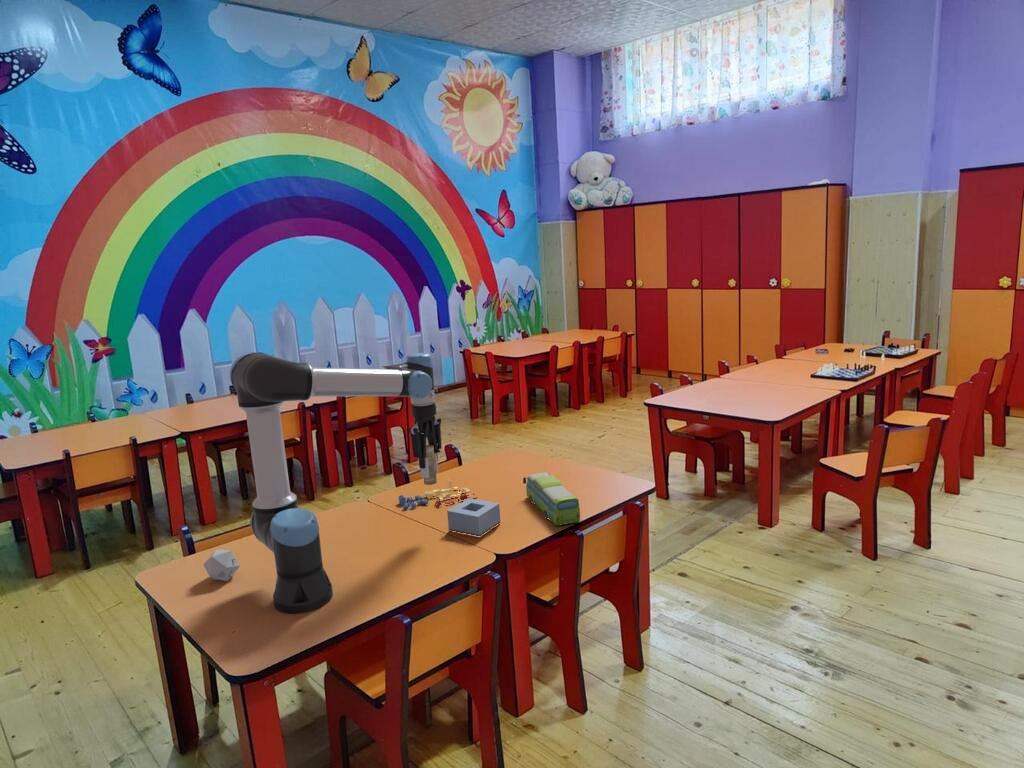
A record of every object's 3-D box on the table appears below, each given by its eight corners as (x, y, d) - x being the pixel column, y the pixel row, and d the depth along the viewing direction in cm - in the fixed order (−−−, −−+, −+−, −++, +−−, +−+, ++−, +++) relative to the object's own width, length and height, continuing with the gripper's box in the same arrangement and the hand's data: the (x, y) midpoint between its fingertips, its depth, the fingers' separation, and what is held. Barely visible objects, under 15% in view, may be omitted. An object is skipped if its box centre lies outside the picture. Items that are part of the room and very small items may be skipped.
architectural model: (503, 478, 271) (503, 465, 270) (522, 488, 259) (521, 475, 258) (394, 505, 250) (393, 491, 249) (409, 517, 238) (407, 502, 237)
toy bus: (550, 493, 252) (549, 466, 250) (584, 524, 223) (583, 495, 221) (523, 497, 249) (522, 471, 247) (553, 530, 220) (552, 500, 218)
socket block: (479, 538, 217) (478, 516, 215) (448, 531, 223) (447, 510, 222) (500, 523, 227) (499, 503, 225) (470, 517, 233) (469, 498, 231)
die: (211, 591, 193) (230, 561, 193) (191, 571, 197) (210, 542, 196) (232, 587, 201) (251, 559, 201) (213, 568, 204) (231, 540, 204)
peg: (431, 485, 218) (428, 448, 215) (421, 483, 220) (418, 447, 218) (439, 481, 221) (436, 445, 219) (429, 479, 223) (426, 444, 221)
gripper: (415, 410, 206) (422, 485, 211) (449, 397, 220) (455, 468, 225) (396, 408, 210) (403, 482, 215) (430, 396, 224) (436, 465, 229)
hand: (429, 474), depth 220 cm, fingers closed on peg, 4 cm apart
